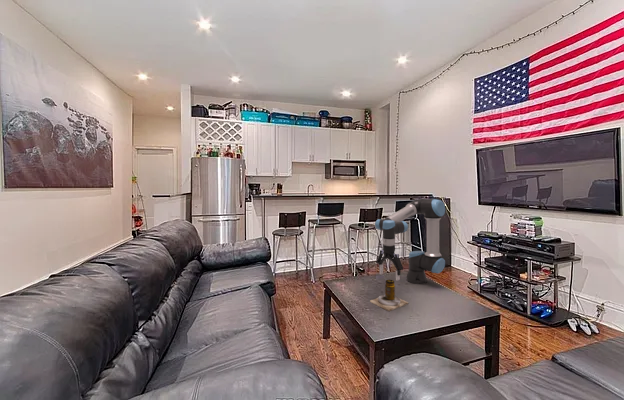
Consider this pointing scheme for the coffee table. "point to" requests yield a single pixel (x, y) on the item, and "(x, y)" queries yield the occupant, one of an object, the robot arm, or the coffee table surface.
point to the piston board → (388, 303)
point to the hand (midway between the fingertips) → (389, 277)
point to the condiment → (389, 291)
